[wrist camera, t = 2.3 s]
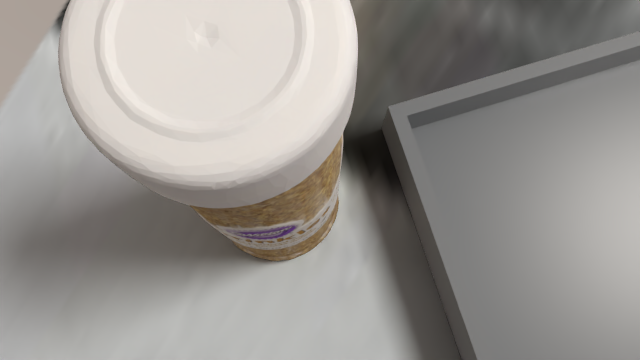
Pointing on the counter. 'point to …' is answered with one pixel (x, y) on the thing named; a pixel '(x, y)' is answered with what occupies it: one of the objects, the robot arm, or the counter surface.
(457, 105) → the tray
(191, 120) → the sprinkles bottle
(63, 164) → the counter surface
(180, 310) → the counter surface
